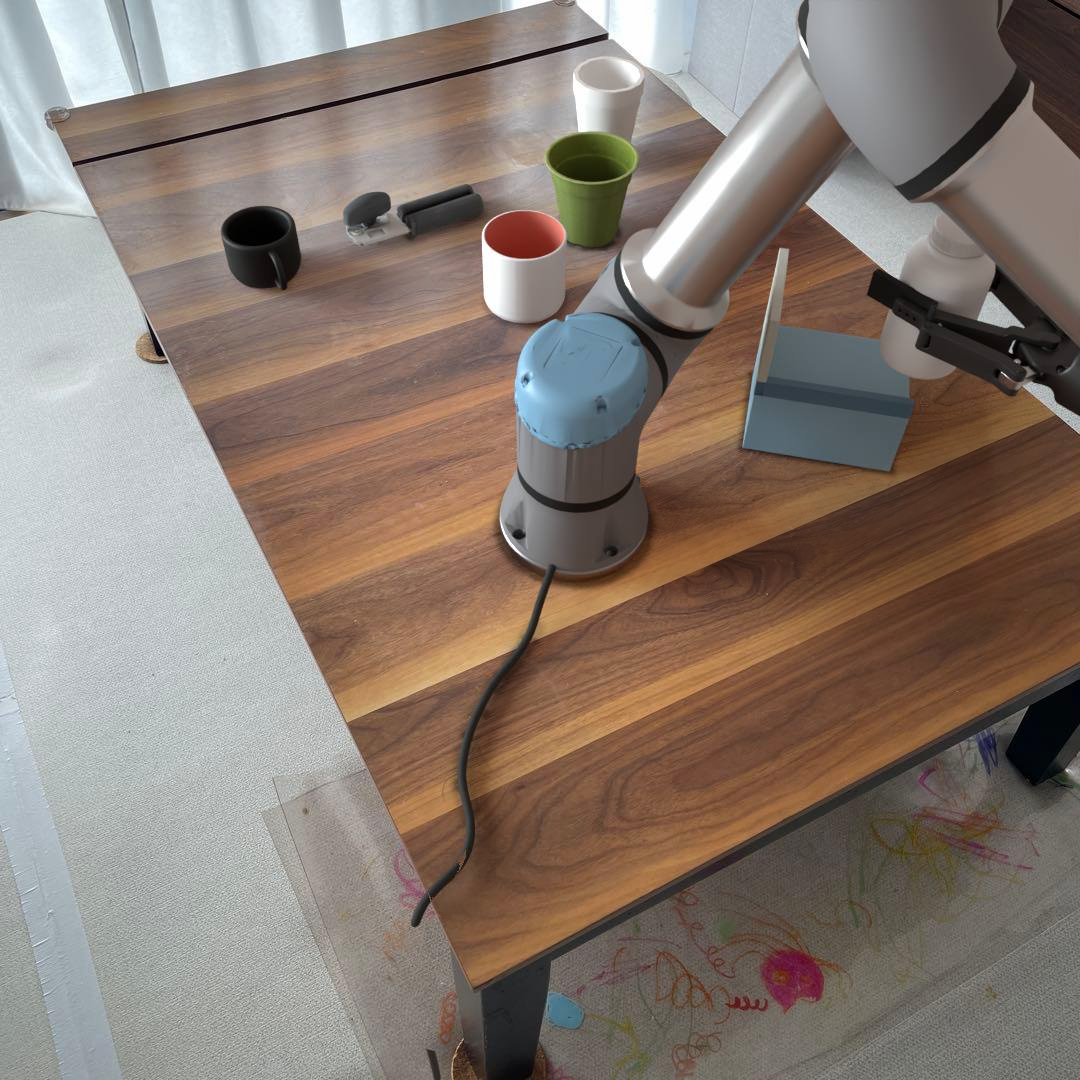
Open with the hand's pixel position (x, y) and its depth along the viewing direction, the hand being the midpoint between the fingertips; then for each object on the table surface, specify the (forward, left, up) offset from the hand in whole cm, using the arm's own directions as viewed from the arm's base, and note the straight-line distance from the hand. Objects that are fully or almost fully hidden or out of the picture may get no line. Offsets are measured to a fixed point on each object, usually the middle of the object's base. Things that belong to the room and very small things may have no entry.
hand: (900, 262), depth 105 cm
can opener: (+27, +57, -24) cm, 68 cm away
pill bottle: (-3, -4, -9) cm, 10 cm away
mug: (+12, +72, -24) cm, 77 cm away
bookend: (+2, +3, -24) cm, 24 cm away
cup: (+15, +40, -24) cm, 49 cm away
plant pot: (+31, +35, -24) cm, 53 cm away
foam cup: (+48, +36, -24) cm, 65 cm away
